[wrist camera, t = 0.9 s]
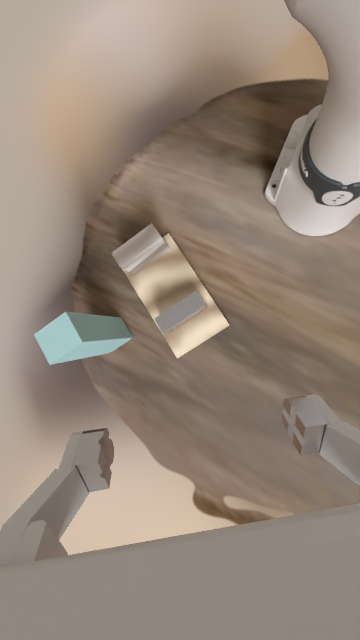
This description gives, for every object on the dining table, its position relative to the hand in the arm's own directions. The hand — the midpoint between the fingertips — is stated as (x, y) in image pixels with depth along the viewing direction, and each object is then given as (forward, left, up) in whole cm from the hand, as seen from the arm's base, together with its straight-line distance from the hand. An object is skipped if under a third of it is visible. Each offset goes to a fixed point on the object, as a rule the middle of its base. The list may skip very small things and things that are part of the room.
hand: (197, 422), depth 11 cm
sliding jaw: (-6, -8, -36) cm, 37 cm away
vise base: (-9, -12, -37) cm, 40 cm away
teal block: (+1, -22, -37) cm, 44 cm away
